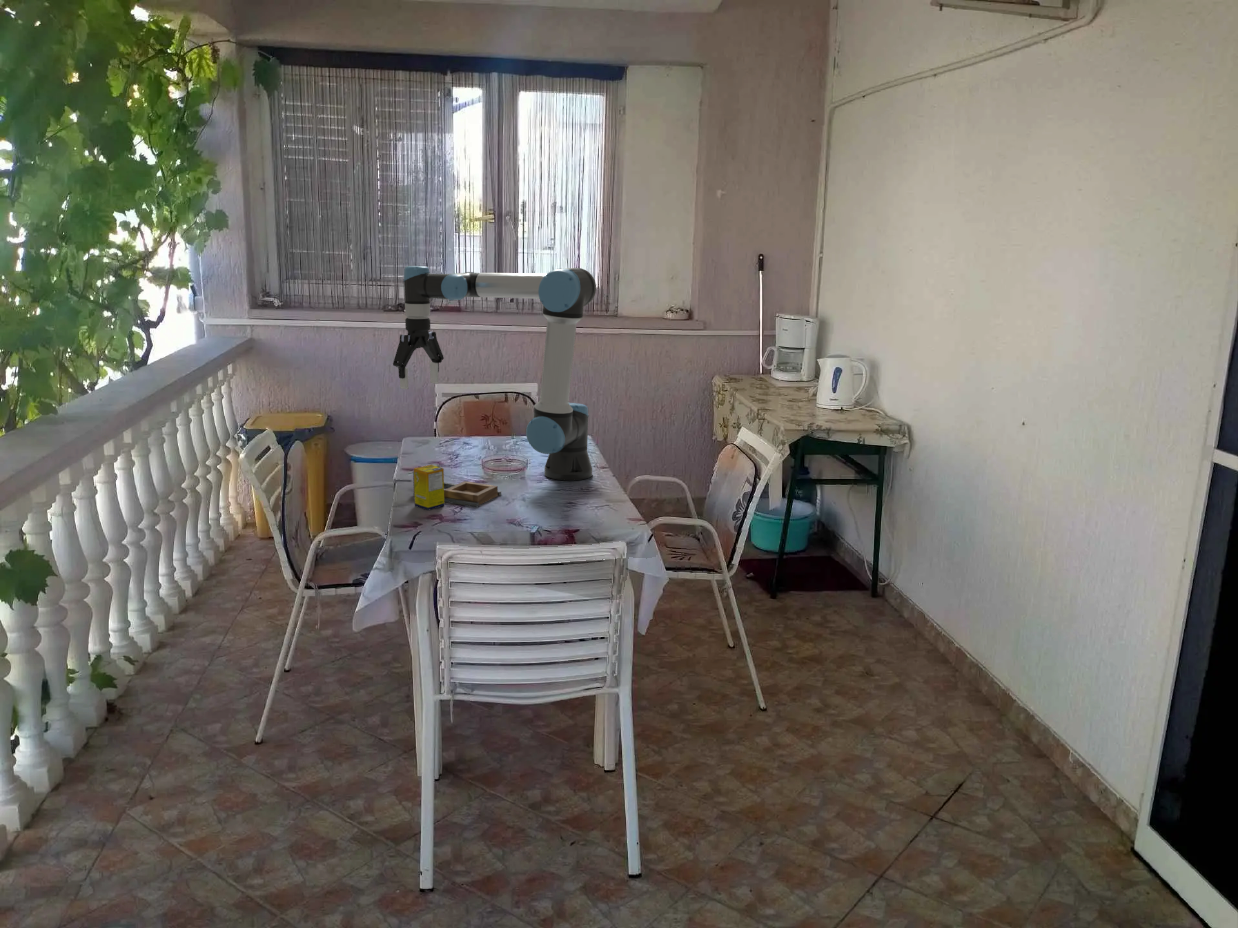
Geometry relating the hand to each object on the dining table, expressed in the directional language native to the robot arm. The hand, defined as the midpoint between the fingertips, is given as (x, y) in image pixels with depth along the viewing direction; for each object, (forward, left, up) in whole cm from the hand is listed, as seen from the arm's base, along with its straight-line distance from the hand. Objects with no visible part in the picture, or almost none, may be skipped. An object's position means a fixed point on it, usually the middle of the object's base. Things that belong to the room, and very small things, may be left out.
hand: (419, 386), depth 290 cm
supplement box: (-26, +34, -27) cm, 50 cm away
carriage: (-32, +22, -26) cm, 46 cm away
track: (-27, +22, -26) cm, 43 cm away
